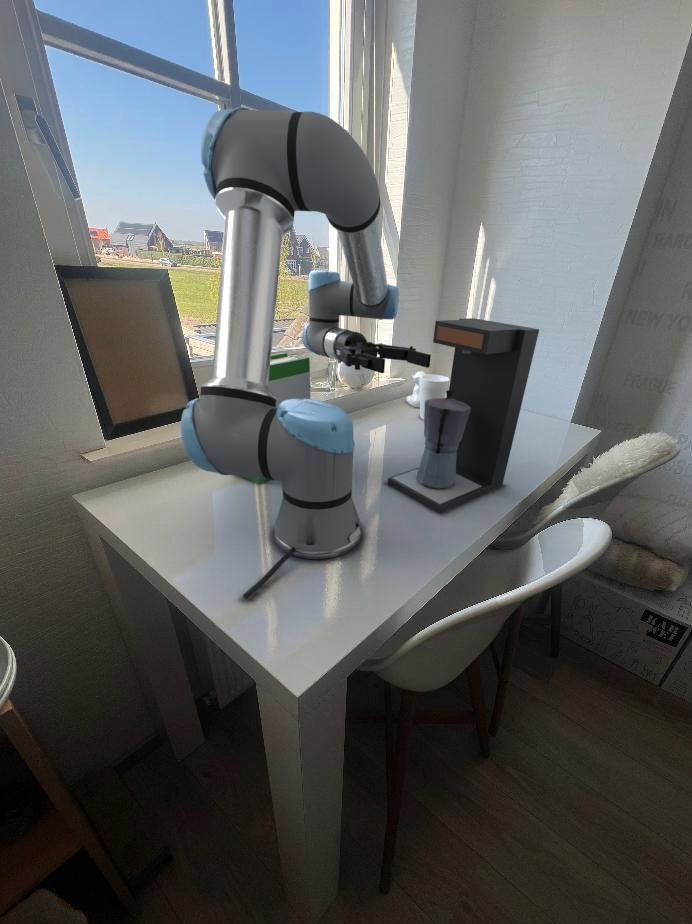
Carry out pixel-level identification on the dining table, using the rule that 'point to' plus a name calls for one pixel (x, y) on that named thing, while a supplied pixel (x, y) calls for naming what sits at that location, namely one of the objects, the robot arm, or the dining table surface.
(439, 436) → the moka pot
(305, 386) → the hardback book
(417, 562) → the dining table surface
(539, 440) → the dining table surface
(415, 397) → the sitting furry creature
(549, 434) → the dining table surface
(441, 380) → the foam cup
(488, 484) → the coffee maker
